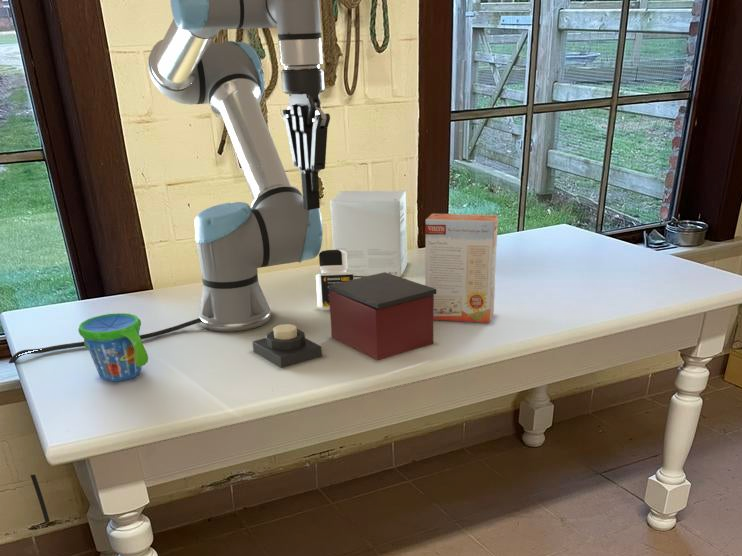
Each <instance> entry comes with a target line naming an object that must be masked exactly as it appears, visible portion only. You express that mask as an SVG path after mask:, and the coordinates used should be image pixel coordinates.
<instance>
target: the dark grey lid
mask: <svg viewBox="0 0 742 556" xmlns="http://www.w3.org/2000/svg"><path fill="white" fill-rule="evenodd" d="M329 290H331V291H333V292H336V293H339V294H341V295H344V296H346V297H349V298H351V299H354V300H357V301H359V302H362V303H364V304H367V305H370V306H372V307H375V308H377V309H380V308H384V307H388V306H391V305H395V304H399V303H403V302H407V301H410V300H414V299H418V298H422V297H426V296H430V295H433V294H436V289H434V288H431V287H428V286H425V285H424V284H422V283H419V282H416V281H413V280H410V279H406V278H404V277H402V276H401V277H398V276H395V275H392V274H389V273H386V272H383V273H379V274H375V275H371V276H361V277H358V278H353V280H349V281H345V282H341V283H337V284H332V285H329Z"/></svg>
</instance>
